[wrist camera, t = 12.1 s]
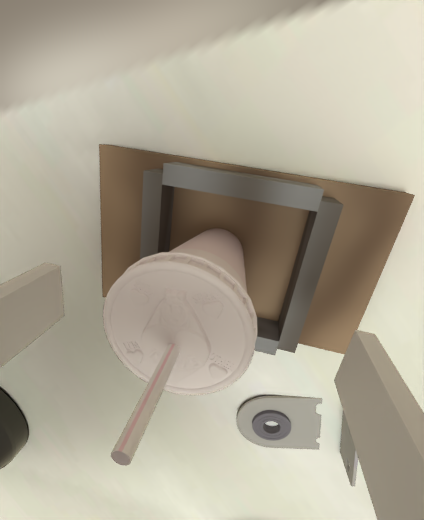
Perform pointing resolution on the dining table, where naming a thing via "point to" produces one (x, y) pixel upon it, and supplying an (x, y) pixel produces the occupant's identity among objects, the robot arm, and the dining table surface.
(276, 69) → the dining table surface
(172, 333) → the smoothie
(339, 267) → the keeper board
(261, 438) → the grey arched plates
